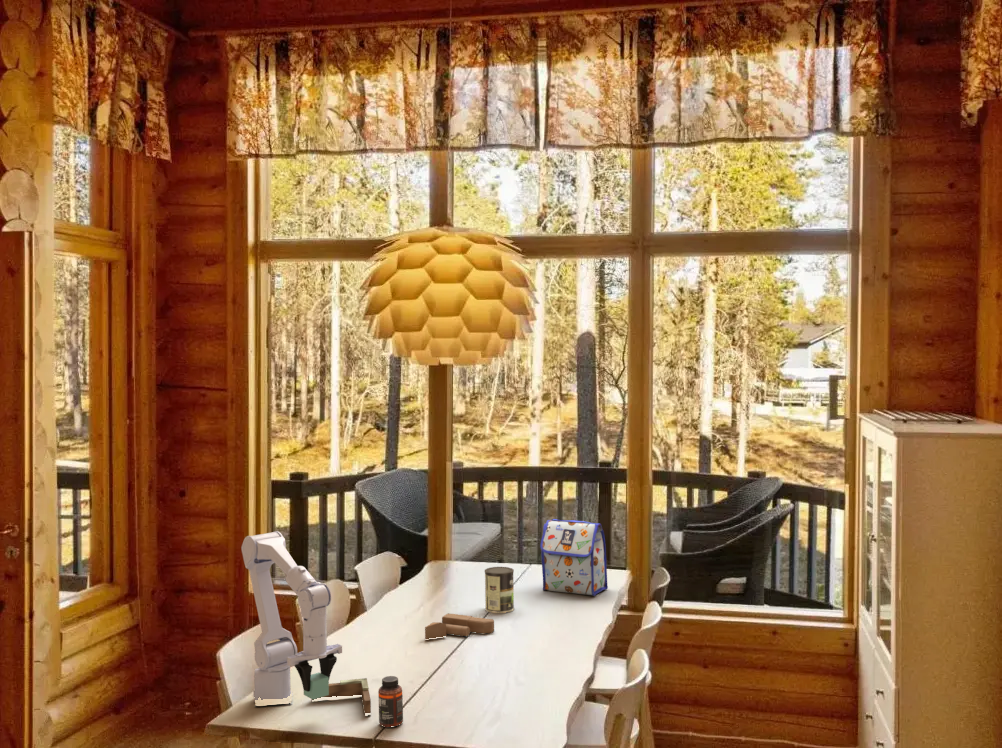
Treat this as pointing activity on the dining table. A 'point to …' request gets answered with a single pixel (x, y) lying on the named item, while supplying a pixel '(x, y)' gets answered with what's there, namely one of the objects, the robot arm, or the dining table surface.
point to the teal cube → (318, 686)
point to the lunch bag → (573, 557)
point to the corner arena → (352, 690)
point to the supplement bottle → (390, 702)
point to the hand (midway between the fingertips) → (315, 687)
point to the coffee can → (499, 589)
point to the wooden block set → (458, 626)
